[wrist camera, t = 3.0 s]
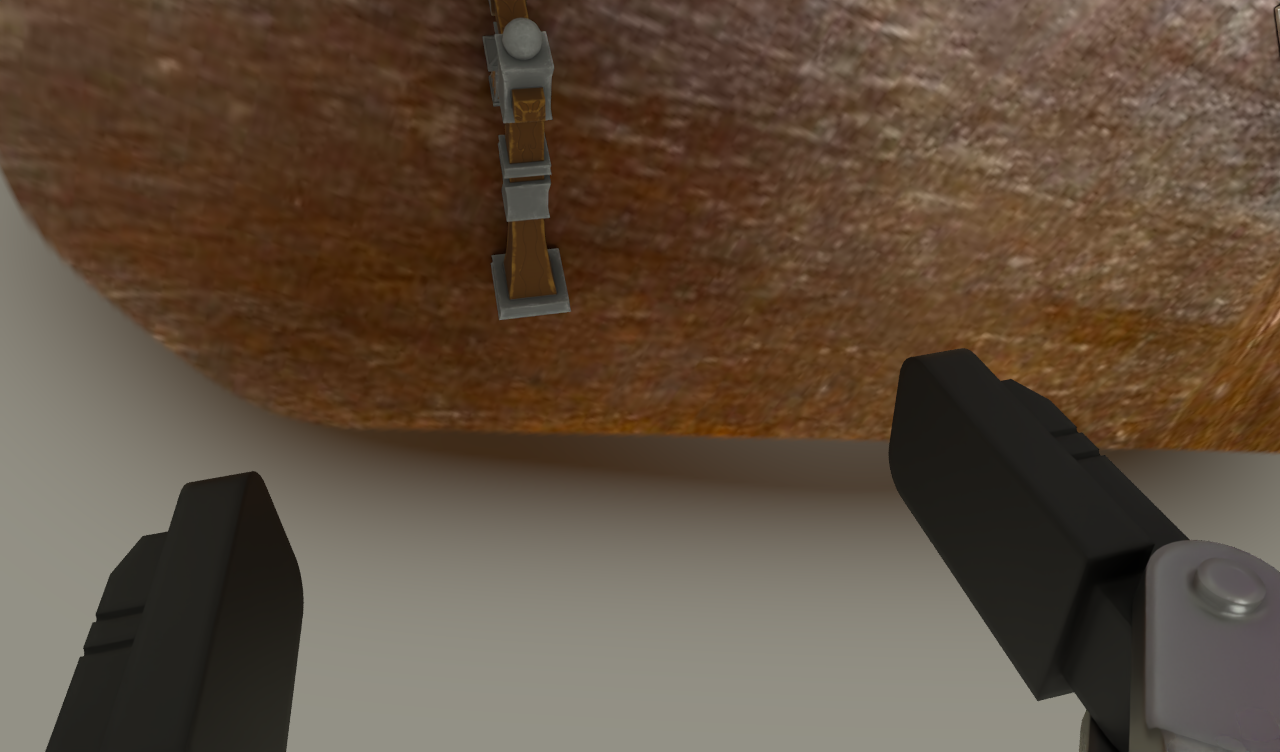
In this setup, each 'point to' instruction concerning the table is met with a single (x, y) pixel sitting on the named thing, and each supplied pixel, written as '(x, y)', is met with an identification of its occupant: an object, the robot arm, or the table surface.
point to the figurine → (1278, 20)
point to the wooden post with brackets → (523, 164)
